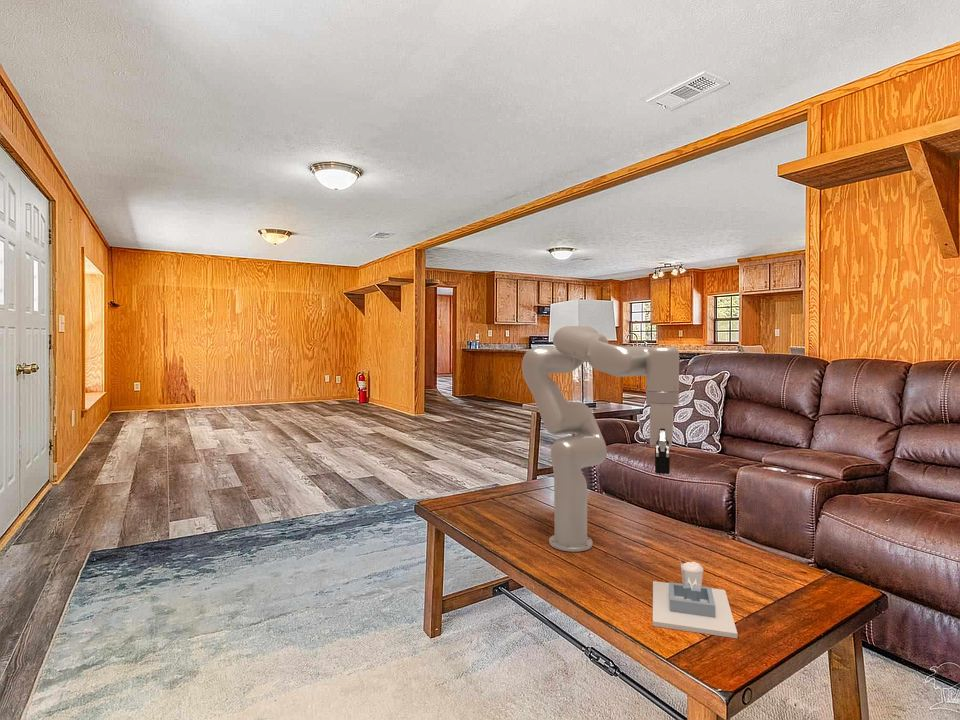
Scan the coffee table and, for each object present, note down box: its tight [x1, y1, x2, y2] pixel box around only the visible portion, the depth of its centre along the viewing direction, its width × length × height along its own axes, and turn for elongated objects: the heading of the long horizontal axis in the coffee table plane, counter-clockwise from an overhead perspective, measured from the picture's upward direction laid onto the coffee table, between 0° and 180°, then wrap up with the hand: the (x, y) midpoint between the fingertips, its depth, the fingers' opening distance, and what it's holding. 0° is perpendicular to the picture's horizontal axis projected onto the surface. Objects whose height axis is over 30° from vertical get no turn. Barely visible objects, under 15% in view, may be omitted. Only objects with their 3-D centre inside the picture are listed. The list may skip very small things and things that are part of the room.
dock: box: [652, 580, 738, 640], centre depth 118 cm, size 20×16×4 cm
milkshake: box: [677, 555, 704, 602], centre depth 119 cm, size 4×5×10 cm
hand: (662, 468), depth 130 cm, fingers open, 9 cm apart
